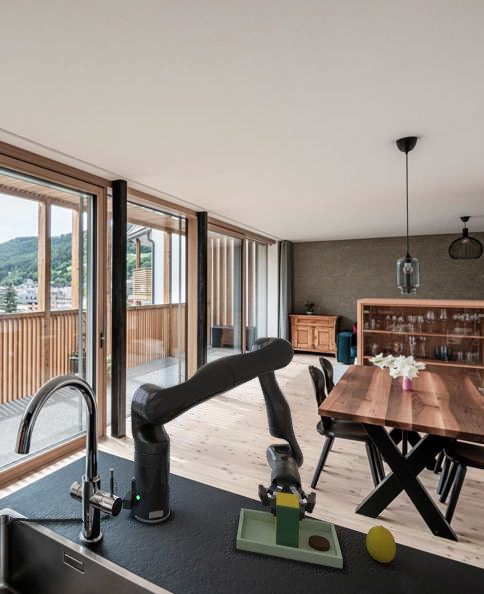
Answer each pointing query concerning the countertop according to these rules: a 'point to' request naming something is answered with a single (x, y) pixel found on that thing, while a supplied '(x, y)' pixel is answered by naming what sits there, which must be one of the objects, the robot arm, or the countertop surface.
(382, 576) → the countertop surface
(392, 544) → the lemon
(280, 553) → the tray
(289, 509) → the sponge
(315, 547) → the brown round disc
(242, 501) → the countertop surface
